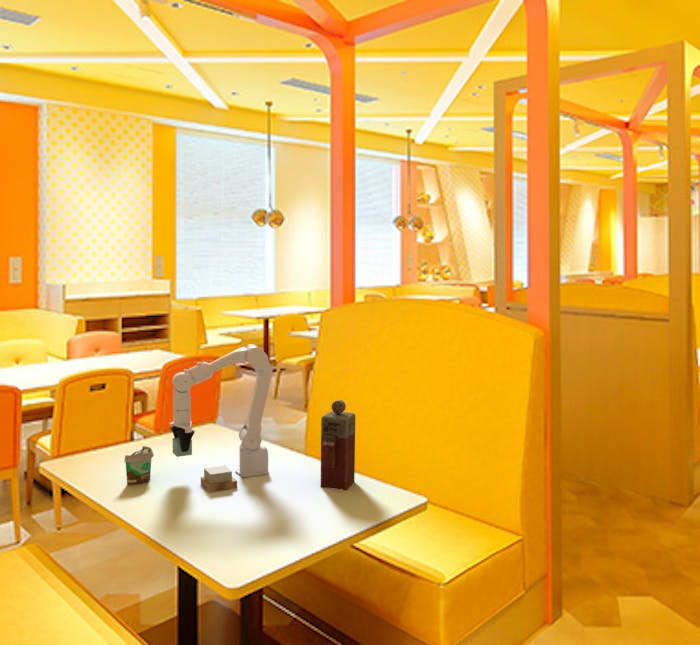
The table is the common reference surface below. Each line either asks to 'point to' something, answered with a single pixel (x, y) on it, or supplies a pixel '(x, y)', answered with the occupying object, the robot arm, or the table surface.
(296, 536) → the table surface
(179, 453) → the teal cube
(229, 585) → the table surface
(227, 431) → the table surface
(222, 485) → the tower base
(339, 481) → the red grey gas pump
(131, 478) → the food container
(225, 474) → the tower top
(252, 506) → the table surface
